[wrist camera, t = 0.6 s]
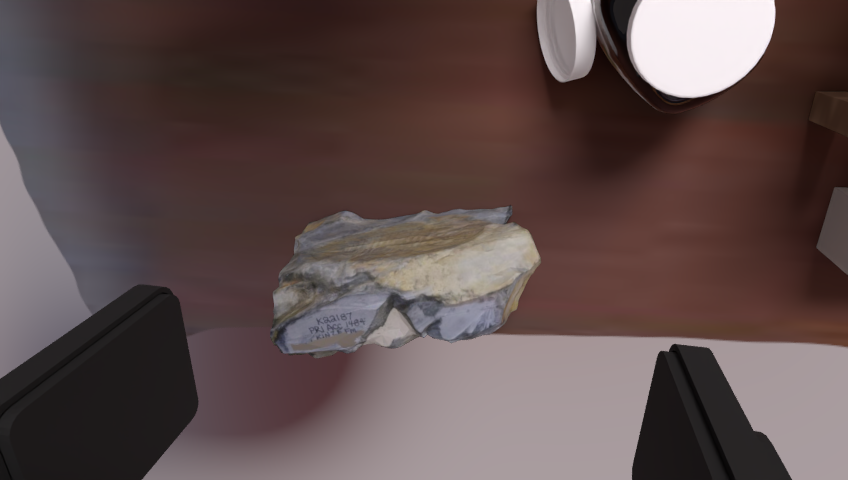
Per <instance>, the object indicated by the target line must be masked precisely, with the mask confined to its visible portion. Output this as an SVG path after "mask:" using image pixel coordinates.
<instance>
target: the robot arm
mask: <svg viewBox="0 0 848 480" xmlns="http://www.w3.org/2000/svg"><path fill="white" fill-rule="evenodd" d="M197 408H198V396H197V391H196V385H195V380H194V375H193V370H192V365H191V359H190V354H189V349H188V344H187V338H186V333H185V328H184V323H183V317H182V312H181V307H180V302H179V299H178V298H177V297H176V296H174V295H173V293H172V291H171V290H170V289H169V288H167V287H160V286H151V285H137V286H135V287H133V288H132V289H130V290H129V291H127V292H126V293H124V294H123V295H121V296H120V297H119V298H117V299H116V300H114V301H113V302H111V303H110V304H108V305H107V306H105V307H104V308H103V309H101V310H100V311H98V312H97V313H95V314H94V315H92V316H91V317H89V318H88V319H87V320H85V321H84V322H82V323H81V324H79V325H78V326H76V327H75V328H73V329H72V330H71V331H69V332H68V333H66V334H65V335H63V336H62V337H61V338H59V339H58V340H56V341H55V342H53V343H52V344H50V345H49V346H48V347H46V348H44V349H43V350H42V351H40V352H39V353H37V354H36V355H34V356H33V357H31V358H30V359H28V360H27V361H26V362H24V363H23V364H21V365H20V366H18V367H17V368H16V369H14V370H12V371H11V372H10V373H8V374H7V375H5V376H4V377H2V378H1V379H0V480H142V479H143V477H144V476H145V475H146V474H147V472H148V471H149V470H150V469H151V468H152V467H153V465H154V464H155V463H156V462H157V461H158V460H159V458H160V457H161V456H162V455H163V454H164V452H165V451H166V450H167V449H168V448H169V446H170V445H171V444H172V443H173V442H174V440H175V439H176V438H177V437H178V436H179V434H180V433H181V432H182V431H183V429H184V428H185V427H186V426H187V425H188V424H189V423H190V421H191V420H192V419H193V417H194V416H195V414H196V411H197ZM632 480H792V479H791V477H790V475H789V474H788V472H787V470H786V468H785V466H784V464H783V463H782V461H781V459H780V457H779V455H778V454H777V452H776V450H775V448H774V446H773V445H772V443H771V442H770V440H769V439H768V438H767V436H766V435H764V434H763V433H761V432H756V431H753V429H752V427H751V425H750V423H749V421H748V419H747V417H746V415H745V414H744V412H743V410H742V408H741V406H740V404H739V402H738V400H737V398H736V397H735V395H734V393H733V391H732V389H731V387H730V385H729V383H728V381H727V380H726V378H725V376H724V374H723V372H722V370H721V368H720V366H719V364H718V363H717V361H716V359H715V357H714V355H713V353H712V351H711V350H710V349H709V348H704V347H695V346H687V345H678V344H673V345H672V346H671V348H670V350H669V352H667V351H660V352H659V354H658V357H657V361H656V365H655V369H654V374H653V378H652V383H651V387H650V391H649V396H648V400H647V405H646V409H645V413H644V418H643V422H642V427H641V431H640V435H639V440H638V444H637V449H636V453H635V457H634V462H633V467H632Z"/></svg>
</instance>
